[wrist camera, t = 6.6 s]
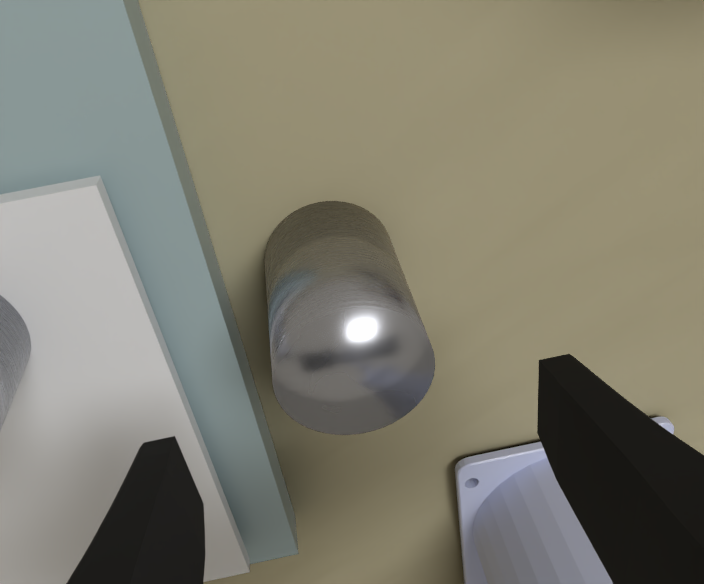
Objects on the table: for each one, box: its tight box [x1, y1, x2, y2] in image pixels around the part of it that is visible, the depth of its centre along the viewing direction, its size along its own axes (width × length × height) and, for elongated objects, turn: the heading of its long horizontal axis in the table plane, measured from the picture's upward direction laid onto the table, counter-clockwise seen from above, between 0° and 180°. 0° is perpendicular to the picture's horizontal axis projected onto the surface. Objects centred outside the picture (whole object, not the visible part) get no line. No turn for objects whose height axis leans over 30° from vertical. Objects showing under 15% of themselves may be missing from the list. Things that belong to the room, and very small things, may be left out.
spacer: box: [264, 201, 435, 435], centre depth 17 cm, size 4×4×5 cm
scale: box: [0, 0, 298, 584], centre depth 18 cm, size 20×12×3 cm, turn 8°
